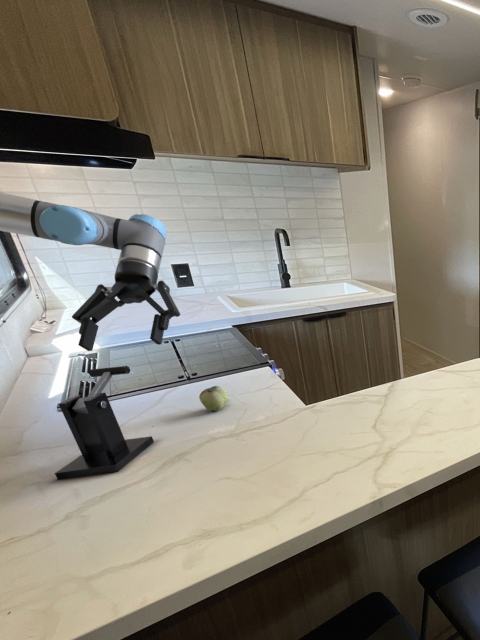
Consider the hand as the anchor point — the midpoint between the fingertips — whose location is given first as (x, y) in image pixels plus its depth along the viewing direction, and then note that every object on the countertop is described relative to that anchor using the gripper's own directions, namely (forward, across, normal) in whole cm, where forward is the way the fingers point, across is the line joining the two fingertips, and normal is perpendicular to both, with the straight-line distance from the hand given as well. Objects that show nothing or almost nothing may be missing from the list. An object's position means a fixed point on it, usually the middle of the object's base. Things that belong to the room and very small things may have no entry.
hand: (120, 344), depth 89 cm
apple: (+9, -11, -20) cm, 25 cm away
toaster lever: (+13, 0, +2) cm, 13 cm away
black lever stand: (+25, 0, -4) cm, 25 cm away
